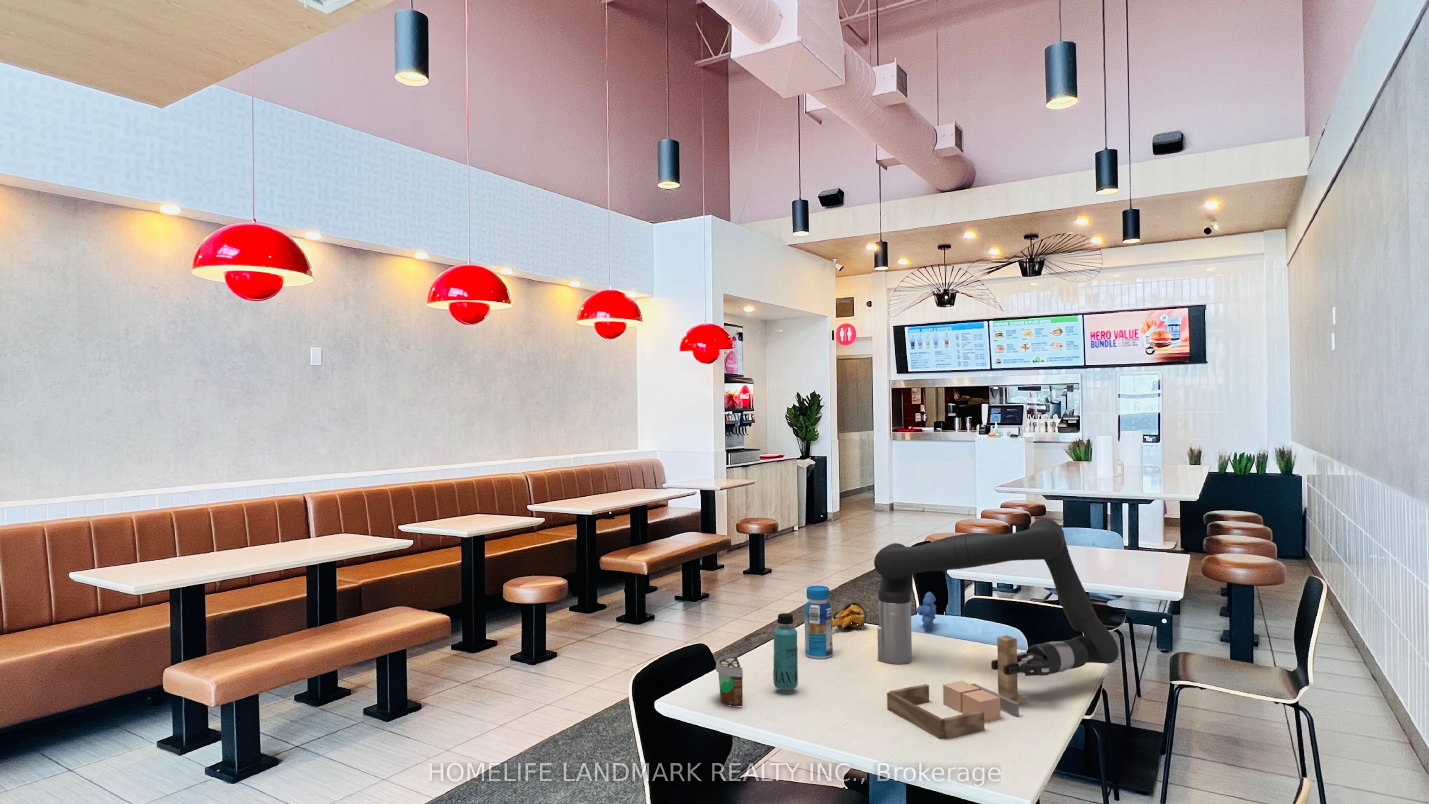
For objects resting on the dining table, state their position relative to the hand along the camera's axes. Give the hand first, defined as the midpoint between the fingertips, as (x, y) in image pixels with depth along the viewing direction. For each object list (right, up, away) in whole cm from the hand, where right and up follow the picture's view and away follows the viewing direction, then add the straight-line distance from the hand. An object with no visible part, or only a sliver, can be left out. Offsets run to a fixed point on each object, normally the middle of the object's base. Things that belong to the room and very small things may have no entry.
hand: (998, 667), depth 195 cm
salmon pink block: (-7, -9, -7) cm, 13 cm away
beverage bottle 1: (-51, -10, +11) cm, 53 cm away
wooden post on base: (+3, -9, +1) cm, 9 cm away
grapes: (0, -10, +66) cm, 67 cm away
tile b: (-9, -9, -1) cm, 13 cm away
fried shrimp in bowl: (-27, -10, +66) cm, 72 cm away
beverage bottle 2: (-39, -10, +41) cm, 57 cm away
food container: (-66, -10, +5) cm, 67 cm away
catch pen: (-17, -9, -8) cm, 21 cm away
